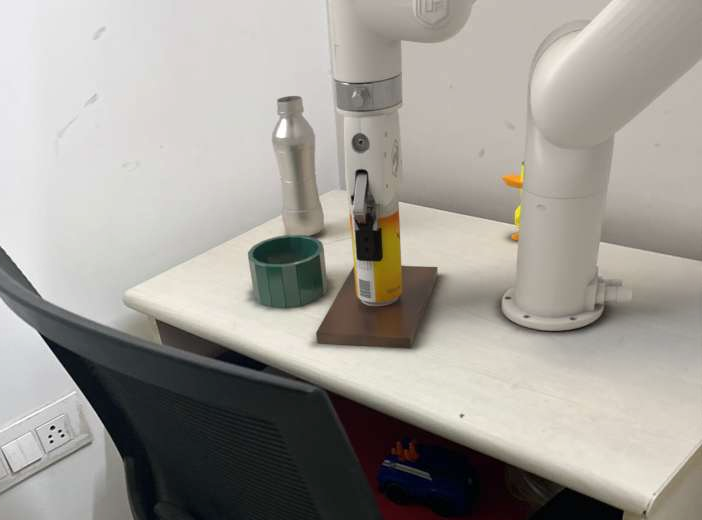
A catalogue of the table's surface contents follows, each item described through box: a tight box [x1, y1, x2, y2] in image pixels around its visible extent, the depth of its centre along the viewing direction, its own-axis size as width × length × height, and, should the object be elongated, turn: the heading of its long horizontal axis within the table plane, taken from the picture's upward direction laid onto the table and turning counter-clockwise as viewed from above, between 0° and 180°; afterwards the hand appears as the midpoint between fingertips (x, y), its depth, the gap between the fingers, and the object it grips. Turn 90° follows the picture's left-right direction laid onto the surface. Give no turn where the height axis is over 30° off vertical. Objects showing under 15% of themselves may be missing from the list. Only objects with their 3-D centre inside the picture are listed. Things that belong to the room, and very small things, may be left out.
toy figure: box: [501, 160, 524, 241], centre depth 112 cm, size 7×4×12 cm, turn 46°
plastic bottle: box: [271, 95, 325, 237], centre depth 118 cm, size 6×7×20 cm
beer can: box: [348, 188, 402, 306], centre depth 97 cm, size 6×6×15 cm
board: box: [315, 265, 439, 349], centre depth 103 cm, size 12×20×2 cm, turn 164°
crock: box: [247, 234, 329, 309], centre depth 108 cm, size 10×10×6 cm
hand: (376, 247), depth 98 cm, fingers closed on beer can, 6 cm apart
